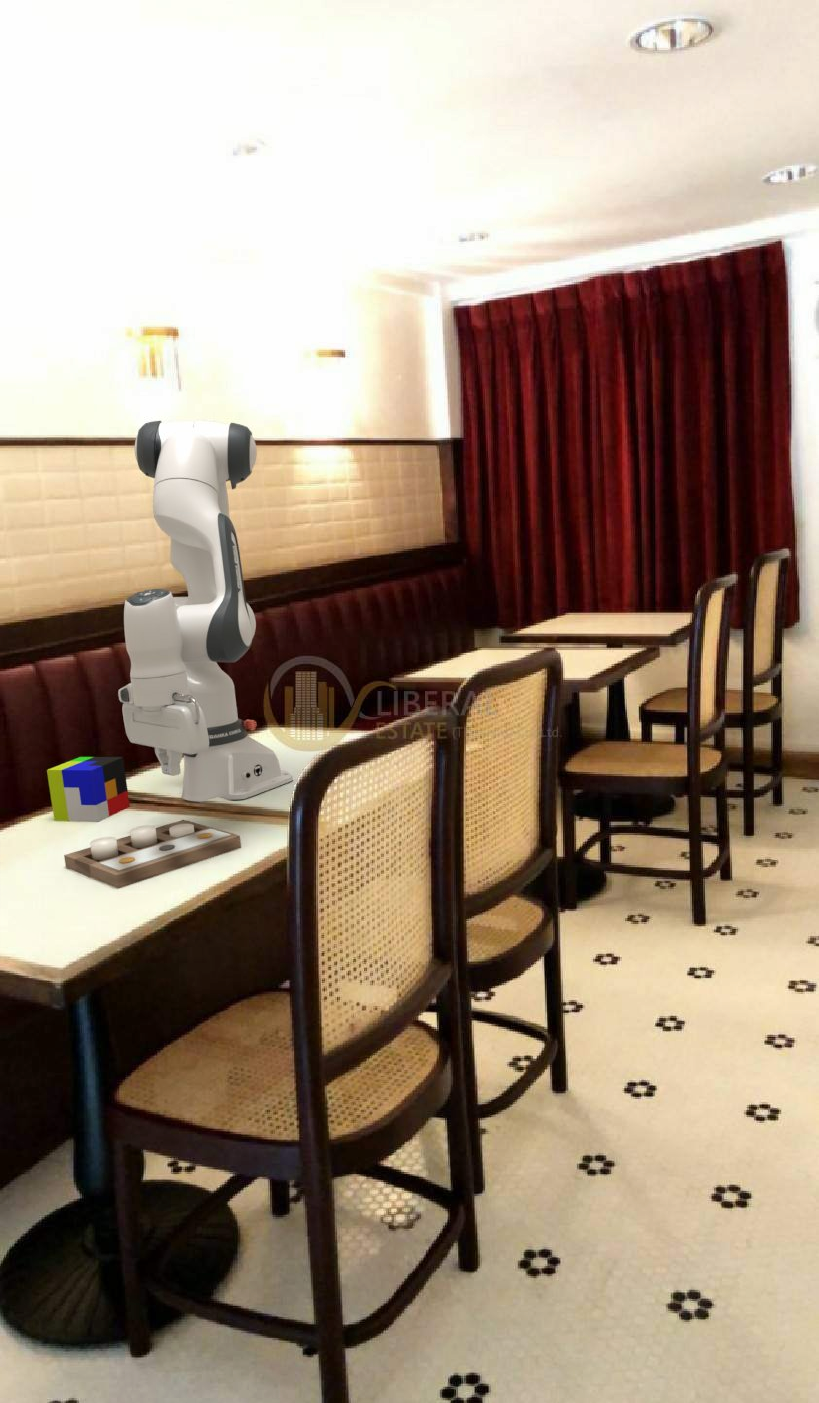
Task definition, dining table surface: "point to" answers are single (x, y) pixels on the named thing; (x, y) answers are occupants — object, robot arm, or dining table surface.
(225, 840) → the console
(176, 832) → the button
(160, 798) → the dining table surface
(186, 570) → the robot arm
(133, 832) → the middle button
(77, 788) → the puzzle toy
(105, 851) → the button
